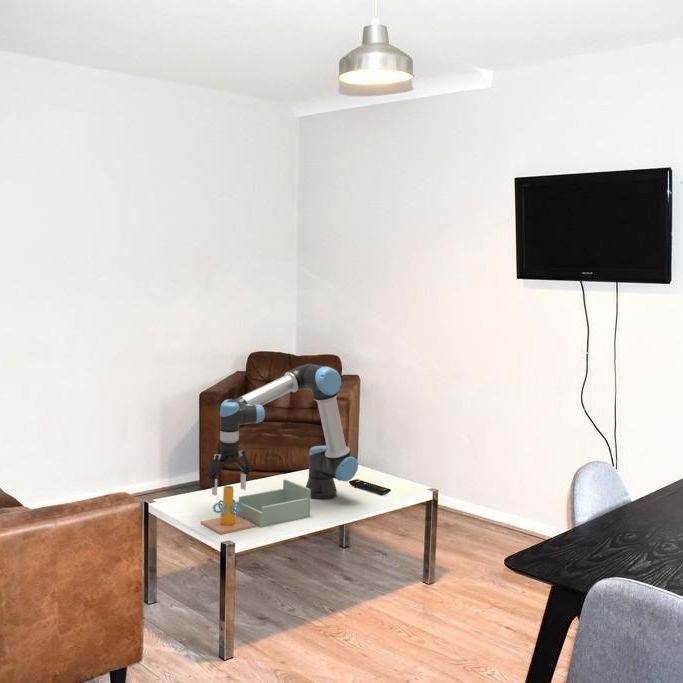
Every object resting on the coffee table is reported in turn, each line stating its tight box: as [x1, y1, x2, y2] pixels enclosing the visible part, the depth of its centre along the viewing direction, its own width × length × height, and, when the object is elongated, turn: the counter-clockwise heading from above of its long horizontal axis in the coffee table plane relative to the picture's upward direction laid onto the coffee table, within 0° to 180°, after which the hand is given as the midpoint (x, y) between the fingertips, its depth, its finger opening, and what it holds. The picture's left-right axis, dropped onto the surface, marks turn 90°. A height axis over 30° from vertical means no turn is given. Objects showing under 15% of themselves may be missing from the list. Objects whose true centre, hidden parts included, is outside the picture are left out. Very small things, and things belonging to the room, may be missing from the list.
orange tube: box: [212, 485, 243, 525], centre depth 334 cm, size 12×10×15 cm
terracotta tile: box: [200, 515, 256, 535], centre depth 335 cm, size 16×16×1 cm
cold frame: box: [236, 479, 311, 528], centre depth 348 cm, size 25×18×12 cm
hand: (229, 491), depth 334 cm, fingers open, 13 cm apart
